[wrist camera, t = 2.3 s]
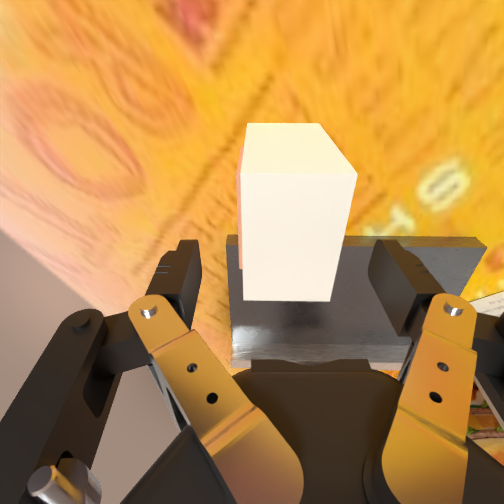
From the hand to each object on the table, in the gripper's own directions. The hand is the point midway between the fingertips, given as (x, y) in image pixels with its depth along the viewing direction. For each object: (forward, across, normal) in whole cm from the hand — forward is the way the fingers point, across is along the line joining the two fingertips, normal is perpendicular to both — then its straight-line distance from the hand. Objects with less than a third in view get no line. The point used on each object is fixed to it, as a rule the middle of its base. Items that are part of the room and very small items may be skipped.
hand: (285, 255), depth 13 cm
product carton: (+9, 0, 0) cm, 9 cm away
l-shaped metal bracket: (+9, -6, +11) cm, 16 cm away
